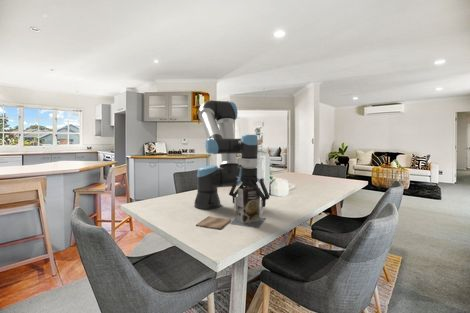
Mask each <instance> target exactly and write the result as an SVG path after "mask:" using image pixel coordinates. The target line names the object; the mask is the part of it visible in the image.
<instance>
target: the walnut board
mask: <svg viewBox="0 0 470 313" xmlns="http://www.w3.org/2000/svg"><path fill="white" fill-rule="evenodd" d="M231 222H232V220H231V219H229V218H224V217H214V216H207V217H205V218H204V219H202V220H200V221H199V222H198V223H196V224H195V226H196V227H201V228H206V229H207V228H208V229H214V230H219V231H221V229H223V228H225V227H226V226H227V224H228V223H229V224H230V223H231Z"/></svg>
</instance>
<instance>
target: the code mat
mask: <svg viewBox="0 0 470 313" xmlns="http://www.w3.org/2000/svg"><path fill="white" fill-rule="evenodd" d="M266 219H267V218H266V217H262V216H261V217H260V216H259V221H257V222H251V223H246V224H243V223H241V222H240V221H238V220H237V216H236V217H235V218H234V219H233V220H231V221H230V222H229V225H236V226H242V227H249V228H255V229H260V227H261V226H262V224H263V223H264V222H265V220H266Z"/></svg>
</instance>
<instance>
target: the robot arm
mask: <svg viewBox="0 0 470 313" xmlns="http://www.w3.org/2000/svg"><path fill="white" fill-rule="evenodd" d="M197 116H198V118H199V120H200V121H201V122H202V126H203V128H204V133H205V134H206V137H207V139H206V140H205V151H206V153H207V154H213V155H221V163H220V164H219V167H218V165H215V164H214V165H213V164H212V165H210V164H209V165H204V166H201V167H198V169H197V173H196V174H197V175H196V177H197V191H196V192H197V193H196V197H195V200H194V208H196V209H199V210H214V209H217V208H220V207H221V200H220V197H219V193H218V189H219V188H230V190H229V193H228V195H229V196H231V197H232V204H233V205H234V207H233V209H234V210H233V211H234V212H236V211H238V188H242V187H253V188H254V189H255V190H256V191H257V193H258V194H259V196H260V215H263V214H264V208H265V207H266V204H267V203H266V200H269V198H270V194H269V192H268V189H267V186H266V185H265V179H264V178H263V177H262V178H258V168H257V167H258V152H259V151H258V147H259V141H258V140H259V139H258V138H259V137H258V135H257V134H242V135H241V138H235V137H234V123H235V121H236V120H237V119H238V107H237V105H236V103H235V102H233V101H229V100H227V101H226V100H213V99H212V100H210V99H209V100H207V101H204V102H203V103H202V104H200V106H199V108H198V111H197ZM237 154H240V155H241V162H240V163H241V166H240V165H239V164H240V163H239V162H238V161H237V160H236V155H237ZM257 183H259V184H260V187H261V188H260V187H259V186H258V184H257ZM237 187H238V188H237ZM236 188H237V189H236ZM259 188H260V189H259Z"/></svg>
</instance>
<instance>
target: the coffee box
mask: <svg viewBox="0 0 470 313" xmlns="http://www.w3.org/2000/svg"><path fill="white" fill-rule="evenodd" d="M237 189H238V194H237V196H238V210H236V211H237V216H236V217H237V220H238V221H240V222H241V223H243V224H246V223H251V222H257V221H259V217H260V215H261V214H260V202H261V197H260V196H259V194H258V193H257V191H256V190H255V189H254V188H253V187H245V186H244V187H242V188H239V187H238V188H237ZM259 189H260V190H261V188H260V187H259Z"/></svg>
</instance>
